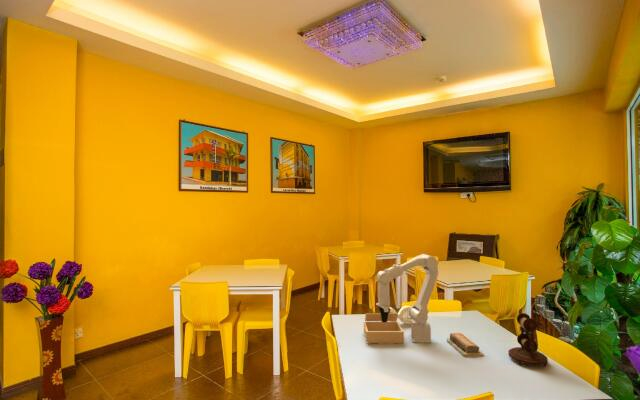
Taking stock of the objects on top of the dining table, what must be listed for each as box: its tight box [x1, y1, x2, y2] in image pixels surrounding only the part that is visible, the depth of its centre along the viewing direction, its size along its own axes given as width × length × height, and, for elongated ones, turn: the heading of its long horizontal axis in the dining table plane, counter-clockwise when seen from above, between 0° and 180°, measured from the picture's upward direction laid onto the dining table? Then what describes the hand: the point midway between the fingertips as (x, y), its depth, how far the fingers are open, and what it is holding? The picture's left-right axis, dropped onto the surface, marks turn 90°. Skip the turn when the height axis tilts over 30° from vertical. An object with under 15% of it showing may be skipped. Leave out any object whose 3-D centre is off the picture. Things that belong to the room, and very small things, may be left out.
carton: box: [363, 321, 405, 345], centre depth 173 cm, size 19×14×6 cm
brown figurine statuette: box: [508, 312, 549, 367], centre depth 146 cm, size 15×15×20 cm
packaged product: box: [446, 332, 485, 358], centre depth 160 cm, size 18×5×10 cm
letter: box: [380, 305, 412, 325], centre depth 192 cm, size 22×2×10 cm, turn 99°
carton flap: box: [364, 312, 399, 322], centre depth 178 cm, size 17×7×1 cm
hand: (384, 321), depth 167 cm, fingers closed
